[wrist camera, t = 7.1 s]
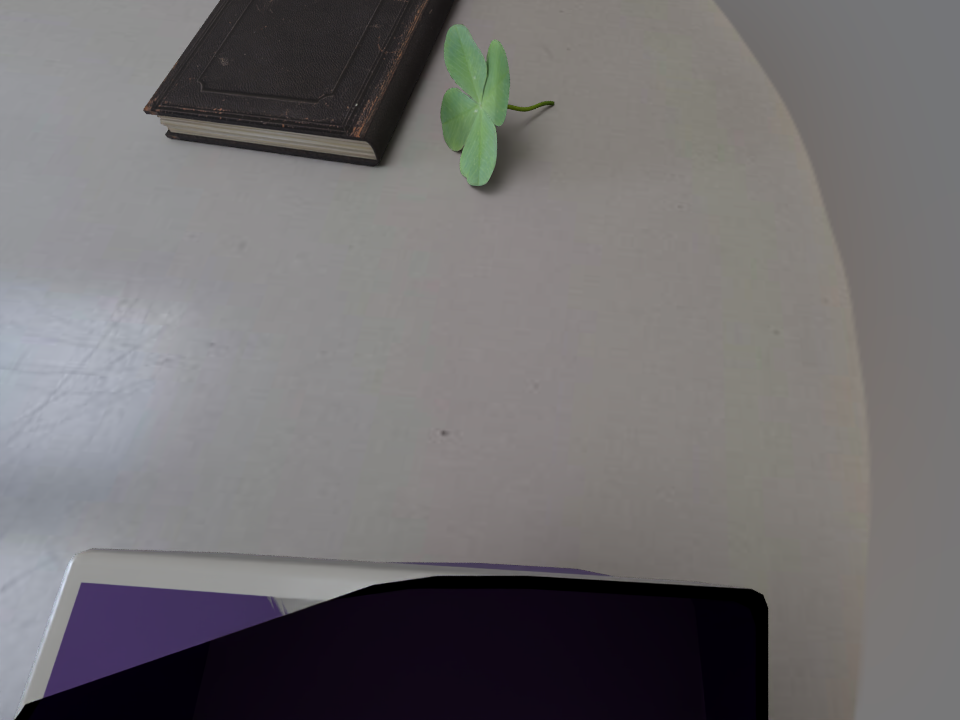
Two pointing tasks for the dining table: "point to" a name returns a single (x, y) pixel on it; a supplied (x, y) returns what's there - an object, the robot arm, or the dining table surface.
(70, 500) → the dining table surface
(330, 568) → the purple white-banded prism
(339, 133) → the hardcover book
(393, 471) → the dining table surface
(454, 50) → the seedling
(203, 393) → the dining table surface
